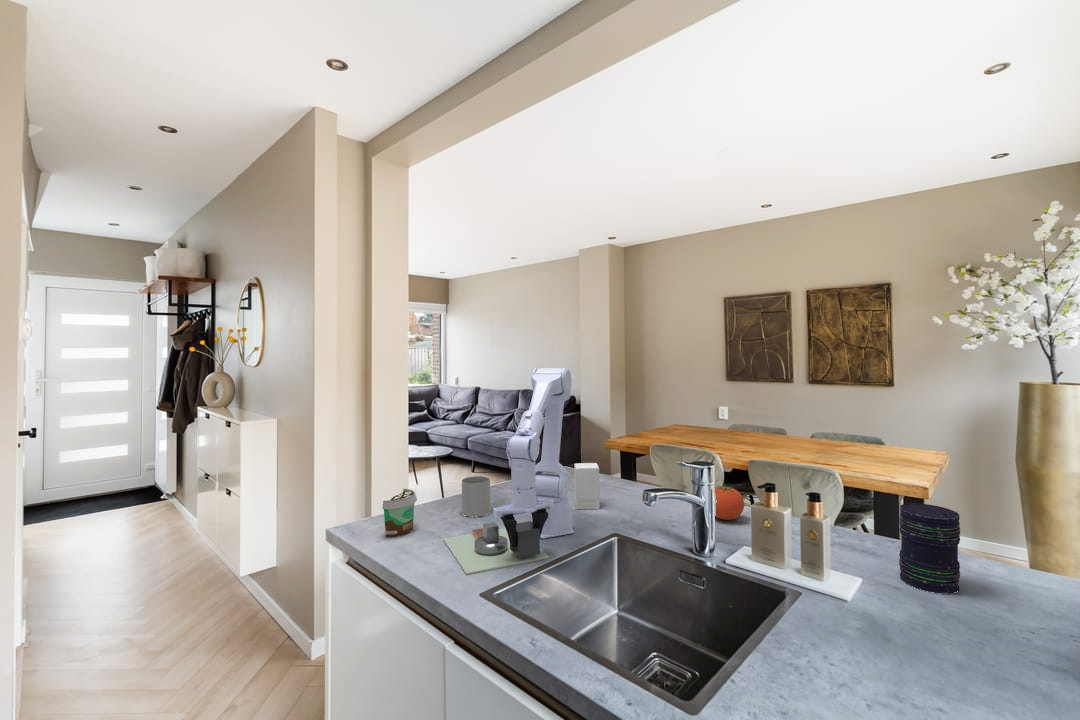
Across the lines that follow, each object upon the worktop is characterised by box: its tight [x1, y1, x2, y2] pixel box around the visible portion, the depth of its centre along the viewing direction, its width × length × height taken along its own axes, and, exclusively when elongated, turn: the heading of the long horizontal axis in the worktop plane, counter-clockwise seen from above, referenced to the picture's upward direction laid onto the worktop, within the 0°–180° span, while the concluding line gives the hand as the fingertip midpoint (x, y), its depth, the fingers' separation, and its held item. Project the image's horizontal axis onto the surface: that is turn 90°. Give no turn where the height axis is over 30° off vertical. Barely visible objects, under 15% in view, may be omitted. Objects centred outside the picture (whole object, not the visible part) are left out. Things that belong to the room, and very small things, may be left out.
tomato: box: [714, 483, 745, 521], centre depth 142 cm, size 10×10×10 cm
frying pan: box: [471, 521, 508, 556], centre depth 126 cm, size 16×8×6 cm, turn 24°
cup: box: [461, 475, 491, 518], centre depth 151 cm, size 8×8×10 cm
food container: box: [381, 488, 418, 538], centre depth 136 cm, size 12×6×10 cm, turn 168°
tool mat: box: [442, 527, 550, 576], centre depth 124 cm, size 20×22×1 cm
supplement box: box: [573, 462, 601, 510], centre depth 156 cm, size 7×7×13 cm
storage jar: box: [898, 502, 961, 594], centre depth 103 cm, size 10×10×15 cm
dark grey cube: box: [510, 520, 541, 558], centre depth 118 cm, size 5×5×6 cm
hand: (524, 543), depth 118 cm, fingers closed on dark grey cube, 5 cm apart
